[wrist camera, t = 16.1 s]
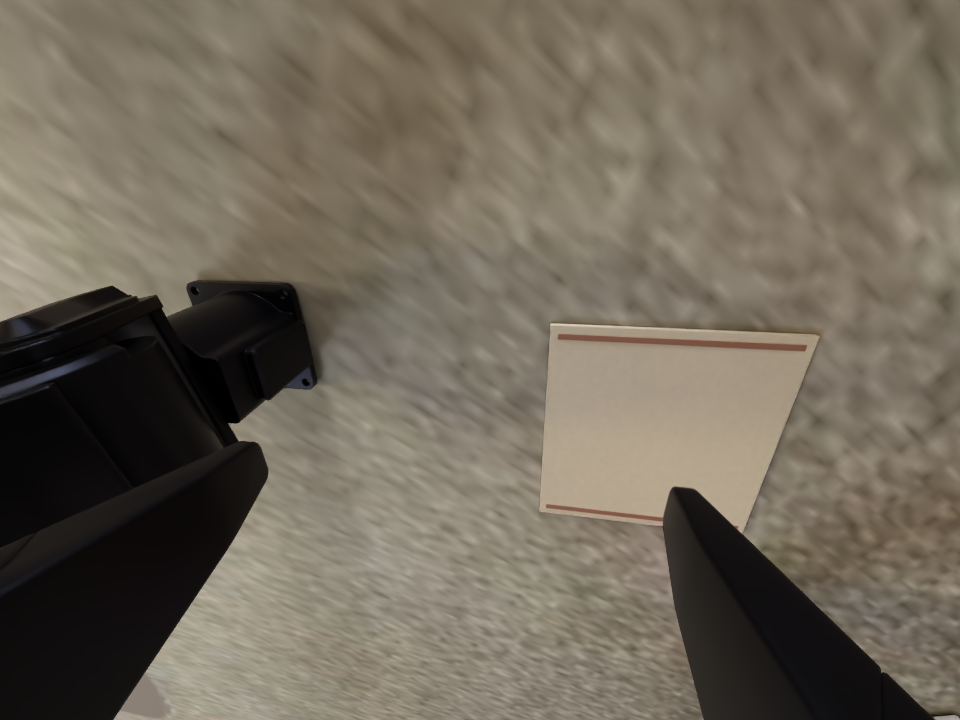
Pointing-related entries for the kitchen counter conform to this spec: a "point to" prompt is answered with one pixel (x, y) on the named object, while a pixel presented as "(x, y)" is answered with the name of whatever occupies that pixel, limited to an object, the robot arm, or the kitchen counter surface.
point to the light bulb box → (947, 717)
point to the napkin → (664, 417)
